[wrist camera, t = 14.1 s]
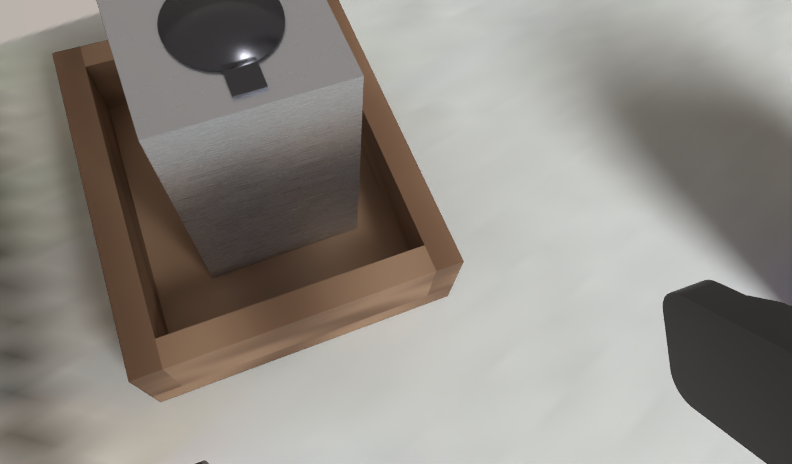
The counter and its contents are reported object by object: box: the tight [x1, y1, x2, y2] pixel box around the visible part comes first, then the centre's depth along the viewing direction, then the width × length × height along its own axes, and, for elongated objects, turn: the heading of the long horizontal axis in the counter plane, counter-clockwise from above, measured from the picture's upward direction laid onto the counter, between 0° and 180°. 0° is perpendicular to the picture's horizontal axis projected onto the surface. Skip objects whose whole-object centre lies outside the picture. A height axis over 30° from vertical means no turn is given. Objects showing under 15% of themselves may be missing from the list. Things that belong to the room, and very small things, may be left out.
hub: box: [96, 0, 364, 278], centre depth 20 cm, size 6×6×9 cm
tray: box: [52, 0, 464, 402], centre depth 24 cm, size 11×13×4 cm
